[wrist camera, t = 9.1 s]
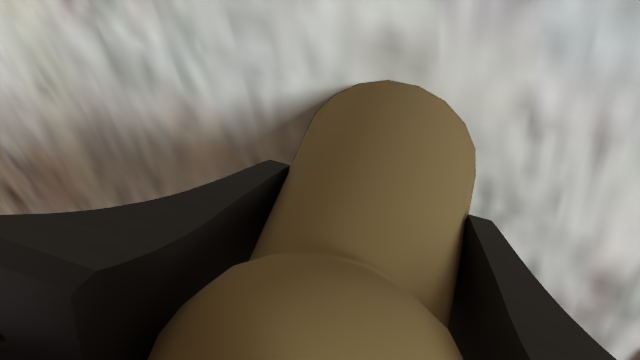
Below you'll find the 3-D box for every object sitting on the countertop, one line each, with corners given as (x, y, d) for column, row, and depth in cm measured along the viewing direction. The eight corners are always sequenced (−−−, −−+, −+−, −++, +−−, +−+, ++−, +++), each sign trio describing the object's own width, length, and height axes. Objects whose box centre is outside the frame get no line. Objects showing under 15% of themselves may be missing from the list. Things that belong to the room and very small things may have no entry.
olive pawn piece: (430, 261, 16) (404, 715, 6) (284, 202, 16) (57, 533, 7) (512, 121, 12) (715, 605, 3) (328, 52, 13) (19, 284, 4)
